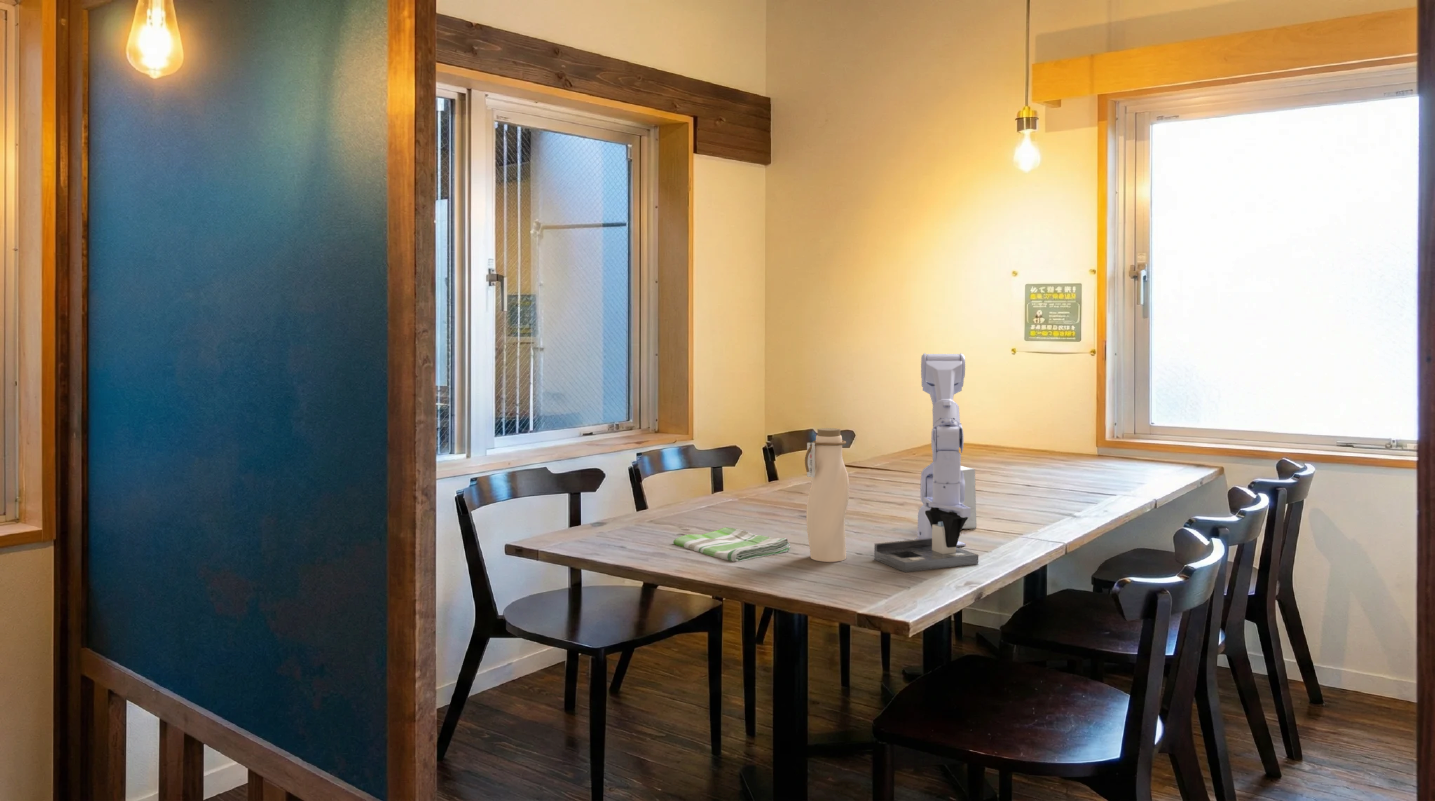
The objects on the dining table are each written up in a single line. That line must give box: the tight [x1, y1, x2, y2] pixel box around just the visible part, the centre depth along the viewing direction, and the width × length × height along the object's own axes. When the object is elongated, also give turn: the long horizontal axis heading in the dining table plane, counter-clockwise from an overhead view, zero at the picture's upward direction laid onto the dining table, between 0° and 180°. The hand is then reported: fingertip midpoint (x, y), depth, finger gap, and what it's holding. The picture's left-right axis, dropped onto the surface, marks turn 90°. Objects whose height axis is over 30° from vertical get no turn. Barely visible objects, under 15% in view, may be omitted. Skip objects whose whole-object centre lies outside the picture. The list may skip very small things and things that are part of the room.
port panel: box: [873, 538, 979, 573], centre depth 212 cm, size 12×18×4 cm, turn 112°
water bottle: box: [804, 427, 850, 563], centre depth 215 cm, size 10×9×28 cm
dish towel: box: [672, 526, 792, 563], centre depth 226 cm, size 17×23×4 cm
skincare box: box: [961, 465, 977, 530], centre depth 249 cm, size 8×6×15 cm
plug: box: [932, 521, 957, 554], centre depth 213 cm, size 4×4×8 cm
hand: (945, 544), depth 214 cm, fingers closed on plug, 4 cm apart
